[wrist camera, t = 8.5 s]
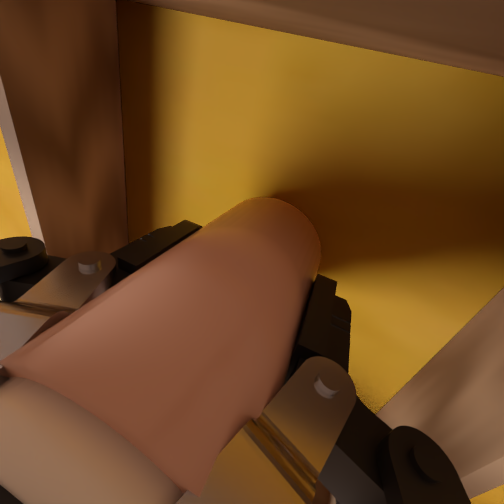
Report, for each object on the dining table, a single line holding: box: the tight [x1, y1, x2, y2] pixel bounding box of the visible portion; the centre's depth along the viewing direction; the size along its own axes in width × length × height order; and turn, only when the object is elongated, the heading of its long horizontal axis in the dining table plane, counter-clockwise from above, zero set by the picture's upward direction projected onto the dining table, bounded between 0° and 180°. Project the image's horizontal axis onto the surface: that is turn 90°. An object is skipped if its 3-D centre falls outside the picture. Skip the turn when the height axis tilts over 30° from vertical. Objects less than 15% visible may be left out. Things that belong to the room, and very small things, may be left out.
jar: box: [0, 197, 321, 504], centre depth 8 cm, size 5×5×10 cm
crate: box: [0, 0, 504, 504], centre depth 13 cm, size 26×21×5 cm
